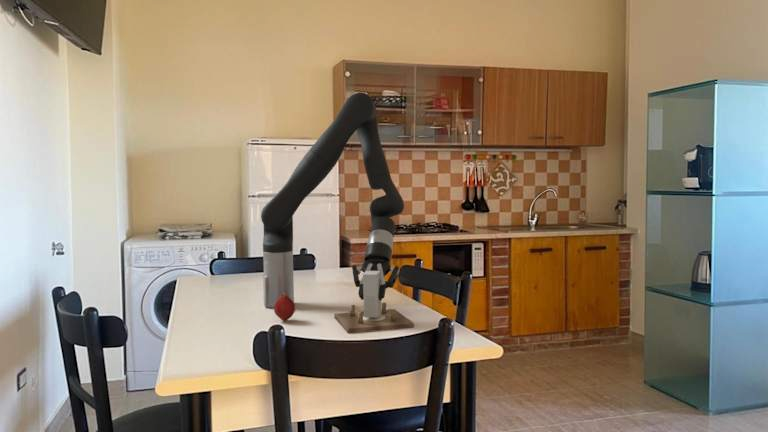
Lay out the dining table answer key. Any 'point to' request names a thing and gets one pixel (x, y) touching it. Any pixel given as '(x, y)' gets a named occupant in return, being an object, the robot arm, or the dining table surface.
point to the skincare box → (371, 294)
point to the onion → (284, 307)
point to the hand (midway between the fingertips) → (370, 298)
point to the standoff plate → (372, 320)
